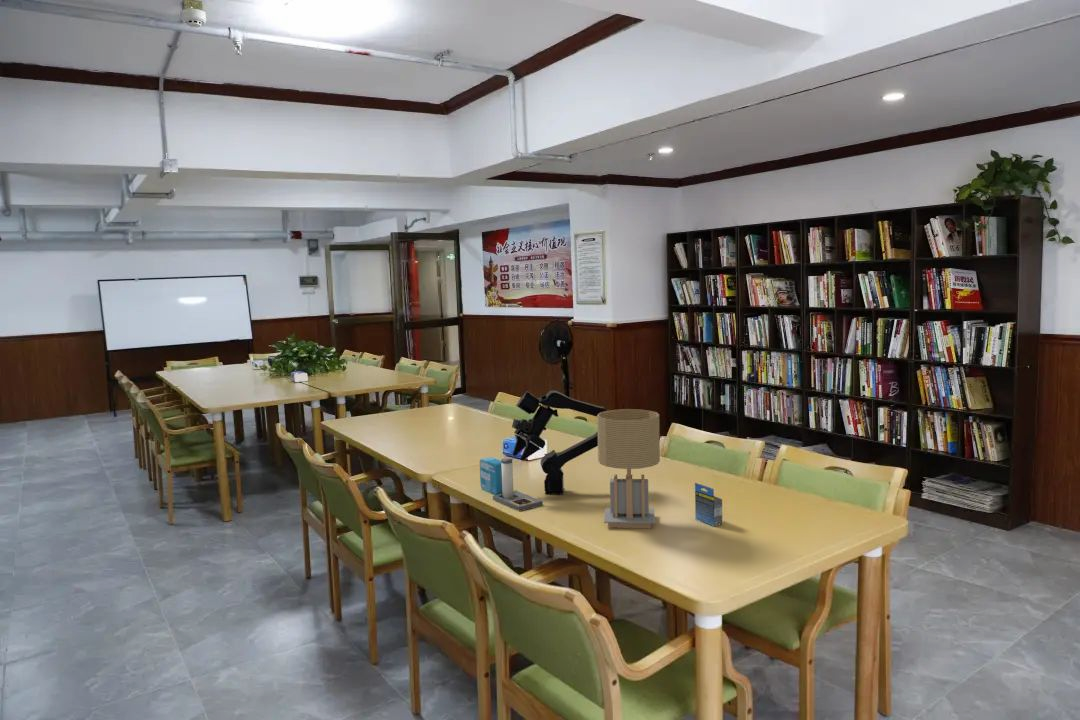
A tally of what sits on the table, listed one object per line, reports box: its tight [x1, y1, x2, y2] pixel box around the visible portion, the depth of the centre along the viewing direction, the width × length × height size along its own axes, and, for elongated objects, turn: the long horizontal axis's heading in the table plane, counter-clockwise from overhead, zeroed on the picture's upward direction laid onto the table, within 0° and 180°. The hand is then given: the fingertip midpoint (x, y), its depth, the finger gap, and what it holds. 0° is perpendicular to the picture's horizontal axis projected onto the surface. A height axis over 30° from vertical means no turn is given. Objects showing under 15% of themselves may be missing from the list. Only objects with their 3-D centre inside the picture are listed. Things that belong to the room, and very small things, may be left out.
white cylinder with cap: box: [500, 457, 514, 499], centre depth 257 cm, size 4×4×15 cm
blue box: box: [479, 456, 502, 495], centre depth 269 cm, size 12×4×12 cm, turn 35°
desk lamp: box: [596, 408, 661, 529], centre depth 229 cm, size 20×20×35 cm
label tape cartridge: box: [694, 482, 723, 527], centre depth 228 cm, size 9×4×12 cm, turn 30°
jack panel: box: [492, 490, 544, 512], centre depth 255 cm, size 10×17×2 cm, turn 36°
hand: (517, 457), depth 260 cm, fingers open, 9 cm apart
